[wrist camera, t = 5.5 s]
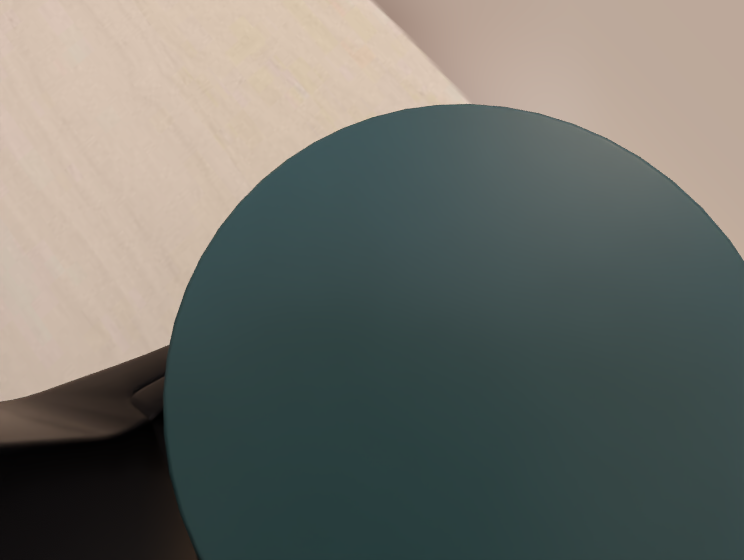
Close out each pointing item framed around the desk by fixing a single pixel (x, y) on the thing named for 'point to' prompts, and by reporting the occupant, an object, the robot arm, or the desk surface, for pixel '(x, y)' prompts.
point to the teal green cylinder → (461, 354)
